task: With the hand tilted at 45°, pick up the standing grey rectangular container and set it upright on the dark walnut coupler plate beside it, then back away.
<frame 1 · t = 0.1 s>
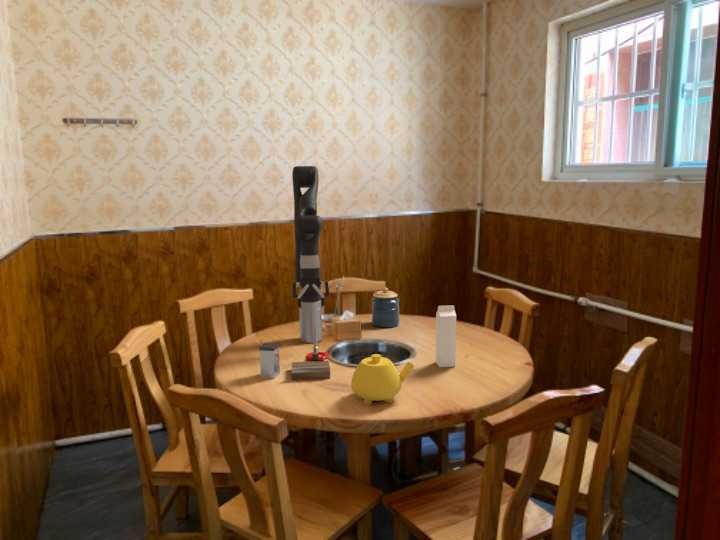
hand: (311, 307, 216), 17 cm above the table, tool pointing down, fingers open, 8 cm apart
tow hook: (317, 357, 210), on the table
milk: (445, 364, 200), on the table
teapot: (383, 397, 171), on the table
grey rectangular container: (270, 375, 190), on the table
canister: (385, 325, 256), on the table
coupler plate: (310, 373, 192), on the table
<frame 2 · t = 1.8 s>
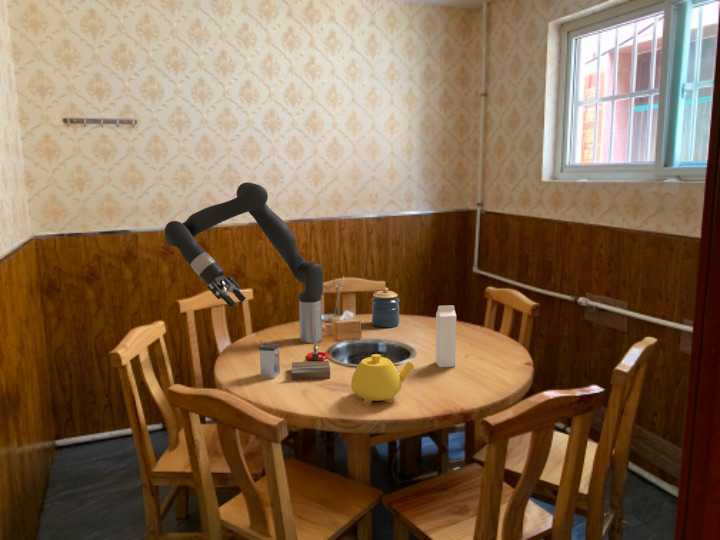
hand: (238, 302, 189), 25 cm above the table, tool tilted 45°, fingers open, 8 cm apart
nothing on the table moved.
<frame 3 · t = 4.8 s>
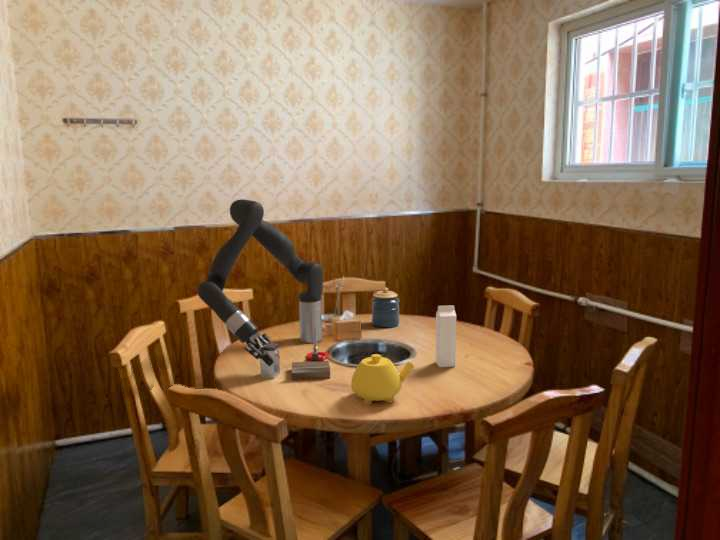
hand: (274, 361, 189), 5 cm above the table, tool tilted 45°, fingers closed on grey rectangular container, 5 cm apart
grey rectangular container: (270, 375, 190), on the table, touching gripper
everything else where it was.
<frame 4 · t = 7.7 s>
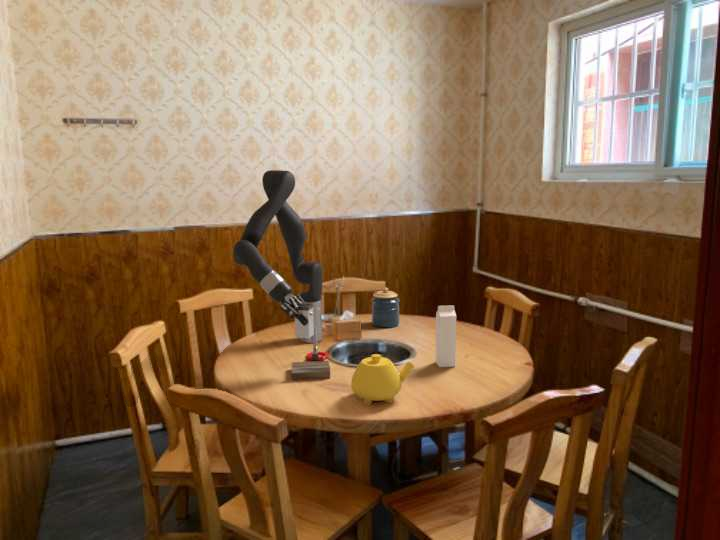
hand: (309, 321, 189), 19 cm above the table, tool tilted 45°, fingers closed on grey rectangular container, 5 cm apart
grey rectangular container: (304, 335, 191), point 13 cm above the table, touching gripper
everything else where it was.
when the fingers open (9 cm above the table, at t = 10.6 s): grey rectangular container drops 1 cm, resting on coupler plate.
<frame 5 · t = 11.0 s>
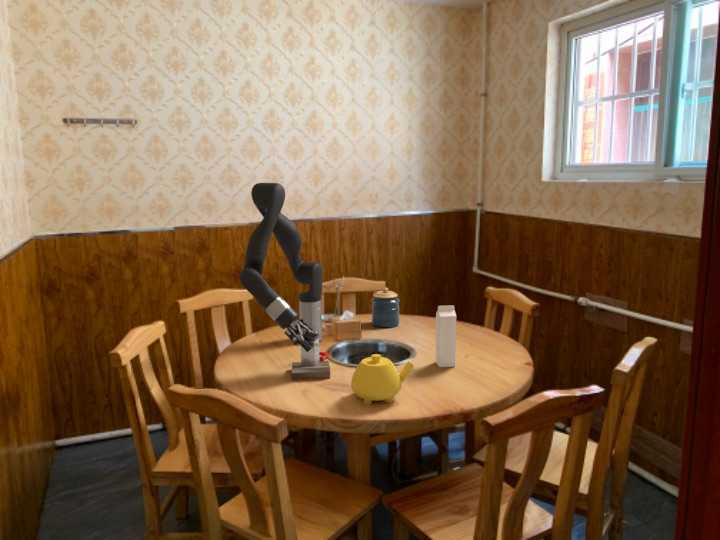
hand: (313, 346, 191), 10 cm above the table, tool tilted 45°, fingers open, 8 cm apart
grey rectangular container: (310, 365, 193), point 2 cm above the table, touching coupler plate
everything else where it was.
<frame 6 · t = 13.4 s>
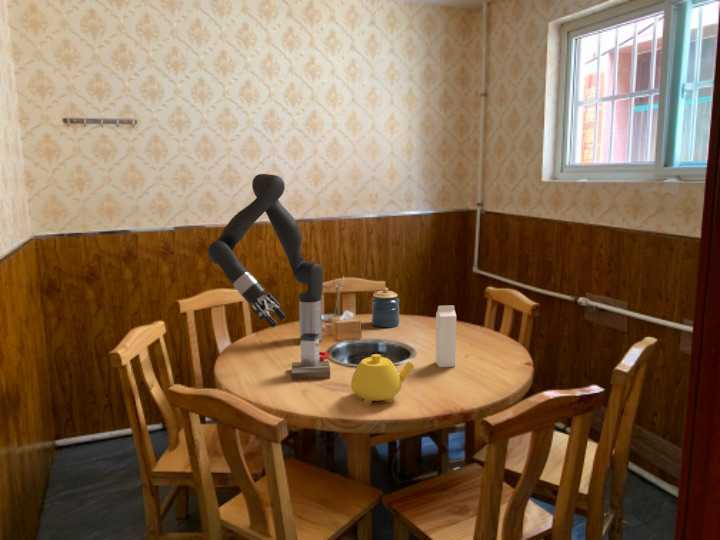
hand: (279, 321, 194), 17 cm above the table, tool tilted 40°, fingers open, 8 cm apart
nothing on the table moved.
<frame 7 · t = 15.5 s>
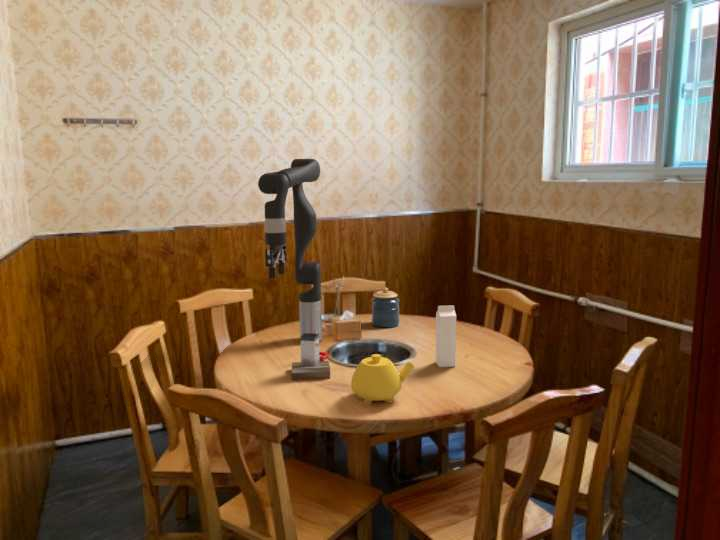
hand: (277, 276, 196), 33 cm above the table, tool pointing down, fingers open, 8 cm apart
nothing on the table moved.
at the end: grey rectangular container inside the target area on the coupler plate (0.7 cm from its centre), point 2.5 cm above the coupler plate's base; grey rectangular container tilted 0°; the gripper is holding nothing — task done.
